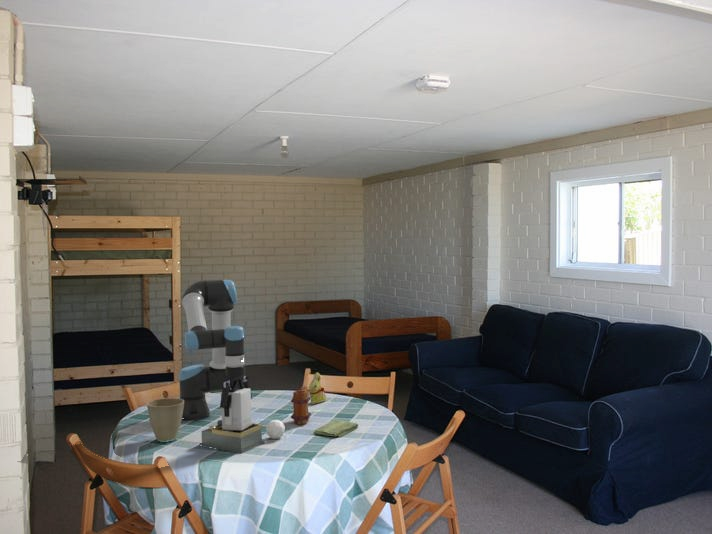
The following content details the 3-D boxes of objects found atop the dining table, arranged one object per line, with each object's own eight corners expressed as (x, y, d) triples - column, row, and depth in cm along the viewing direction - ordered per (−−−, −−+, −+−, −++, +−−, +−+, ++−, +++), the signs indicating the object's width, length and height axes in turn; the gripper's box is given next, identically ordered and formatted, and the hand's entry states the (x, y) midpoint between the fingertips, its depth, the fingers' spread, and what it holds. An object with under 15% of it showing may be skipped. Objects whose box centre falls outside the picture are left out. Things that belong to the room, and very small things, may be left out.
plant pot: (165, 447, 272) (164, 408, 271) (140, 442, 280) (138, 404, 279) (193, 437, 285) (191, 400, 284) (168, 433, 293) (166, 396, 292)
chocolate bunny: (305, 404, 337) (305, 374, 337) (321, 399, 346) (320, 370, 345) (315, 406, 333) (314, 375, 332) (331, 401, 341) (330, 371, 340)
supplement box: (252, 424, 275) (251, 388, 274) (241, 431, 266) (240, 393, 266) (232, 423, 278) (231, 386, 277) (221, 429, 269) (220, 391, 269)
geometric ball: (274, 443, 283) (277, 425, 288) (287, 439, 278) (290, 421, 283) (260, 437, 279) (263, 419, 283) (273, 433, 274) (276, 415, 278)
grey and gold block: (199, 446, 273) (198, 426, 272) (223, 436, 285) (222, 417, 285) (241, 453, 262) (241, 432, 262) (264, 443, 275) (264, 423, 274)
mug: (307, 426, 298) (306, 392, 297) (289, 425, 299) (288, 391, 299) (315, 417, 312) (314, 384, 311) (298, 416, 314) (297, 384, 313)
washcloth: (311, 435, 285) (311, 427, 285) (335, 425, 300) (335, 417, 300) (337, 439, 278) (337, 432, 278) (361, 429, 293) (360, 421, 293)
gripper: (224, 371, 259) (226, 429, 260) (259, 361, 279) (261, 415, 280) (208, 370, 263) (211, 427, 264) (245, 360, 282) (247, 413, 283)
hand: (237, 421), depth 272 cm, fingers closed on supplement box, 10 cm apart
